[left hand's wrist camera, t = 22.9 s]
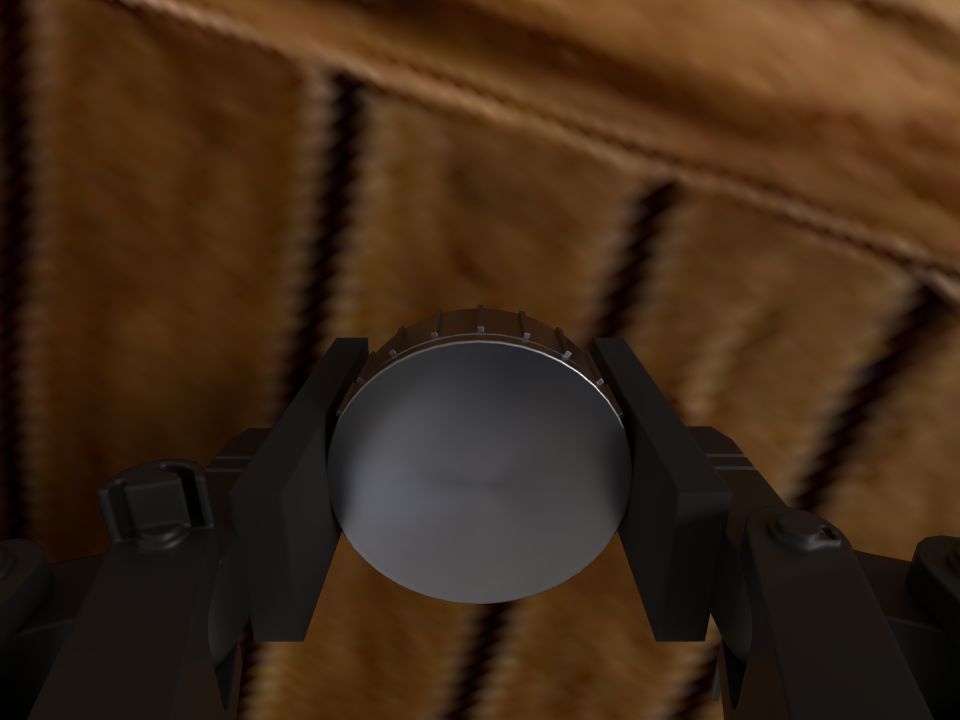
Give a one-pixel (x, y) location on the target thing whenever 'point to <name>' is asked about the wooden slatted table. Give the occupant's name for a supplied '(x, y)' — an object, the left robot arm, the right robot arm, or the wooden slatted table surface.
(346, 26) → the wooden slatted table surface
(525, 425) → the lid
